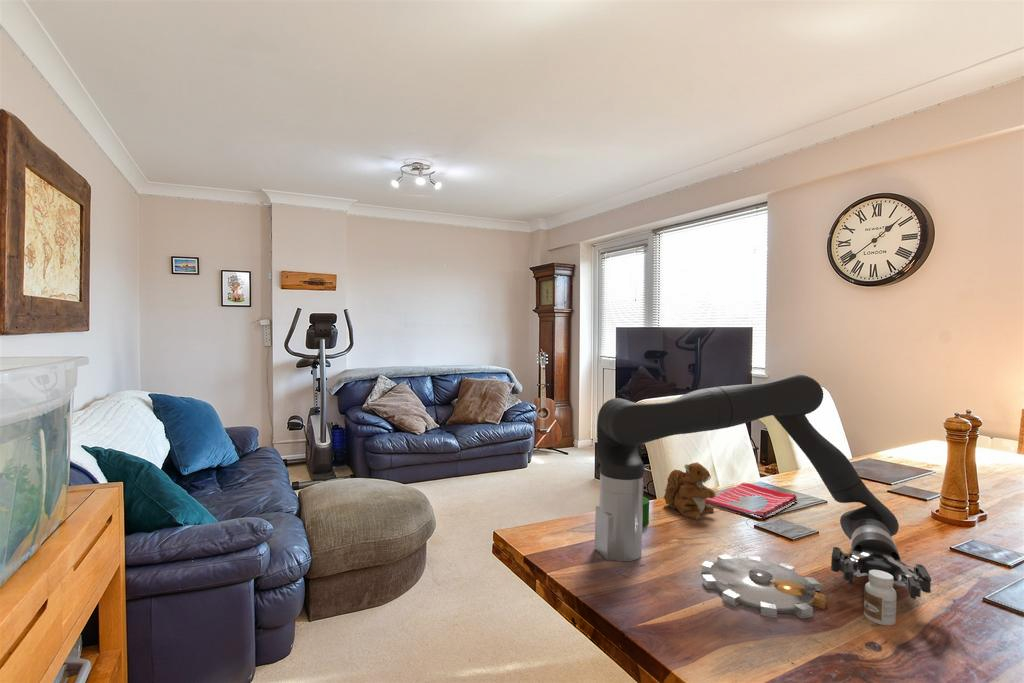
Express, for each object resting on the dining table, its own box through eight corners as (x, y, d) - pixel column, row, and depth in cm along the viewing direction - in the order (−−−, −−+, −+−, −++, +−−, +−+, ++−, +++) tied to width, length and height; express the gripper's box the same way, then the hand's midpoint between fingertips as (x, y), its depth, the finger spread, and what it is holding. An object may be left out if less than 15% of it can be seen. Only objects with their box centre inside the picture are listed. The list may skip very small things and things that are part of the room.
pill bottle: (857, 612, 89) (859, 568, 89) (881, 611, 90) (882, 567, 90) (877, 626, 85) (879, 580, 85) (902, 626, 85) (904, 580, 85)
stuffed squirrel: (699, 522, 130) (701, 470, 130) (653, 506, 141) (654, 458, 141) (720, 513, 136) (722, 464, 136) (674, 499, 147) (675, 453, 147)
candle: (649, 517, 133) (650, 479, 132) (647, 529, 125) (648, 488, 124) (617, 512, 135) (618, 475, 135) (613, 524, 127) (614, 484, 127)
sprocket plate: (755, 626, 84) (756, 611, 84) (679, 567, 105) (679, 555, 105) (854, 609, 90) (854, 595, 90) (763, 556, 111) (763, 545, 110)
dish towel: (799, 503, 146) (799, 494, 146) (764, 523, 131) (764, 513, 131) (740, 489, 159) (740, 480, 159) (701, 505, 144) (701, 496, 144)
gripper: (831, 523, 103) (832, 553, 89) (921, 540, 96) (937, 575, 82) (830, 560, 103) (830, 595, 89) (919, 579, 96) (935, 621, 82)
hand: (881, 585), depth 86 cm, fingers open, 8 cm apart
